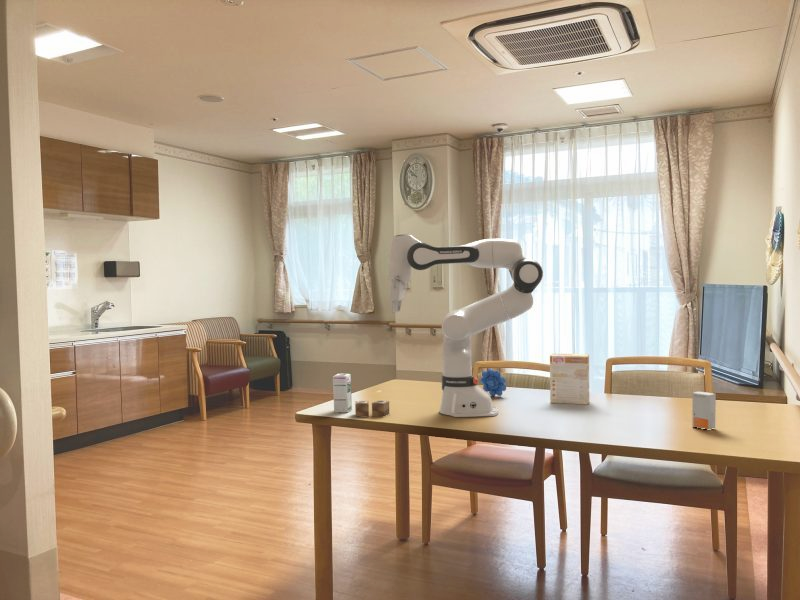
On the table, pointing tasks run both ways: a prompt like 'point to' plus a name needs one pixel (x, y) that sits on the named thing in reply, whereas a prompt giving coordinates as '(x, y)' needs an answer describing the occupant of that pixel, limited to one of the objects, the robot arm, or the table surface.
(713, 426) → the skincare box
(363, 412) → the walnut block one
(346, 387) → the syrup box
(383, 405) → the walnut block two
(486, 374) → the blue gear wheel
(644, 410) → the table surface
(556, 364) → the coffeecake box
